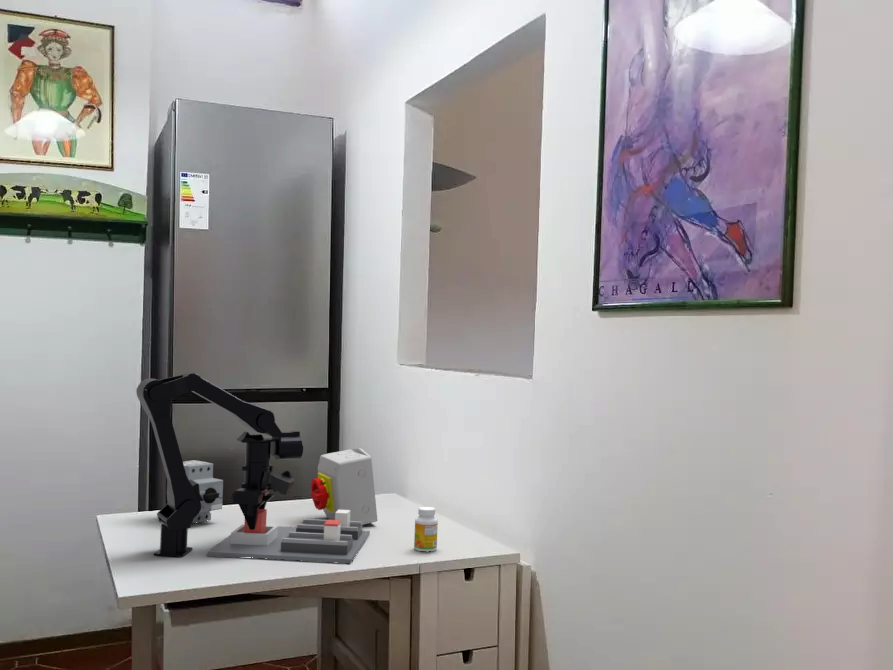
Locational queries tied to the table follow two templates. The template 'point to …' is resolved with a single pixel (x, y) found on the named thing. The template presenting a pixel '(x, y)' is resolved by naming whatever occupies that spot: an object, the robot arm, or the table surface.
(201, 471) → the circuit breaker
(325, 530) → the toggle
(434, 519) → the supplement bottle
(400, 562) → the table surface
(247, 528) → the coral foam cube
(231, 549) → the panel
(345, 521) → the toggle
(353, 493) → the electrical switch box
